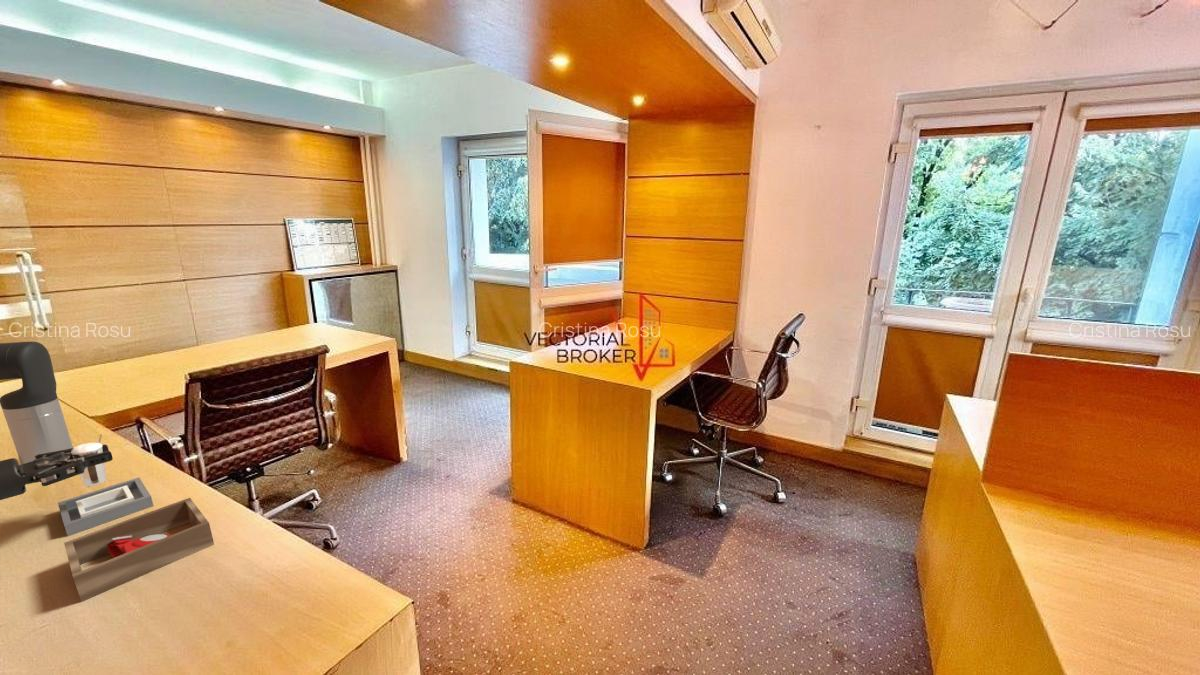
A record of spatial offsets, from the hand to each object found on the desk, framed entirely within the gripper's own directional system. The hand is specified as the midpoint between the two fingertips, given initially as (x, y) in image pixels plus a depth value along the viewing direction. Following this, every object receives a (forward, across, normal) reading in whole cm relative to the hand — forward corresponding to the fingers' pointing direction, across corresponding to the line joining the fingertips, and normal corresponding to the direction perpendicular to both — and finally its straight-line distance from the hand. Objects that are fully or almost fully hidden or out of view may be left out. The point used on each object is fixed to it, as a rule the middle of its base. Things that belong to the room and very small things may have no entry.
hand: (109, 452), depth 101 cm
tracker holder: (0, -26, +13) cm, 29 cm away
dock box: (-2, 0, +13) cm, 13 cm away
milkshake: (-3, 0, +6) cm, 7 cm away
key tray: (0, -26, +13) cm, 30 cm away
